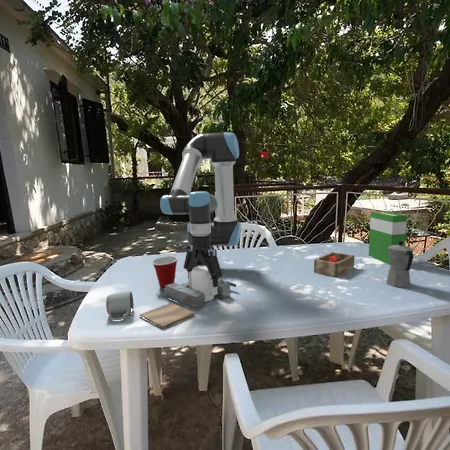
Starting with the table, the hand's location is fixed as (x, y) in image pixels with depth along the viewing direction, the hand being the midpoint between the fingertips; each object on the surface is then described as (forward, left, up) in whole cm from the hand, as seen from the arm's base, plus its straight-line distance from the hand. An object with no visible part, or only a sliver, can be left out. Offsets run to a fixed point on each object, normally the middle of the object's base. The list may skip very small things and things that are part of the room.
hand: (202, 291), depth 125 cm
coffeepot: (+50, +62, -3) cm, 80 cm away
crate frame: (+21, +64, -3) cm, 67 cm away
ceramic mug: (-11, -28, -3) cm, 30 cm away
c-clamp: (-3, +3, -3) cm, 5 cm away
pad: (+2, -18, -3) cm, 18 cm away
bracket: (+21, +64, -4) cm, 67 cm away
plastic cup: (-22, -1, -3) cm, 22 cm away
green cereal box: (+33, +96, -3) cm, 102 cm away
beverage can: (0, 0, -3) cm, 3 cm away
